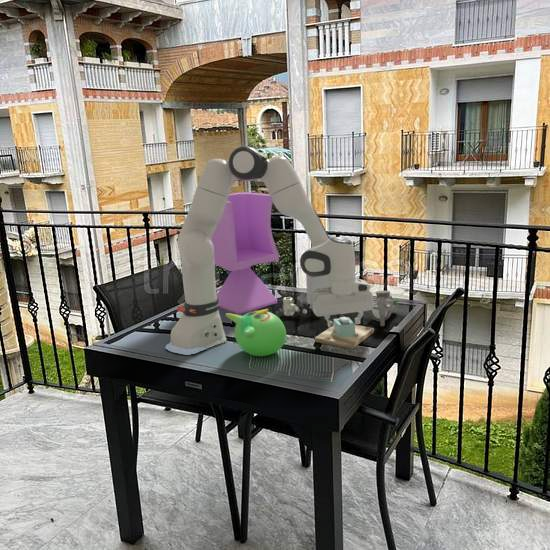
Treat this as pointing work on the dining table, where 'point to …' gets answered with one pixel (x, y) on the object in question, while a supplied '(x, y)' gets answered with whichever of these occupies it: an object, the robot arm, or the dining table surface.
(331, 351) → the dining table surface
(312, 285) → the skincare box
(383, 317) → the mechanical component
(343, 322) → the steel key shaft
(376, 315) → the pipe fitting
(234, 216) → the chair
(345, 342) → the oak plate
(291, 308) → the valve
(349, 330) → the teal collar
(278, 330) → the toy bird
